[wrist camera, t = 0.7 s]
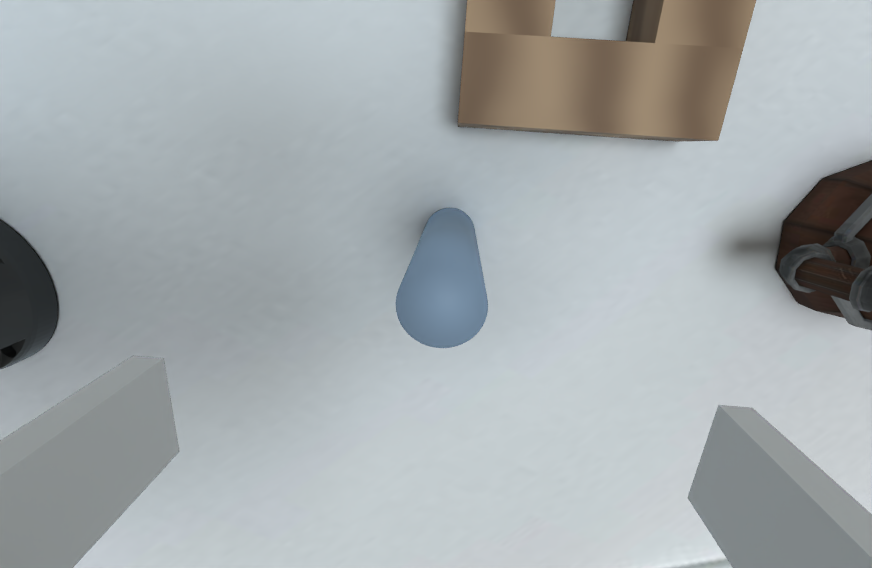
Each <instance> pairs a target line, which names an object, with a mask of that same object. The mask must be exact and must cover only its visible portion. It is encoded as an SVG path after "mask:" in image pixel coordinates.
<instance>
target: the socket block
mask: <svg viewBox="0 0 872 568" xmlns="http://www.w3.org/2000/svg"><path fill="white" fill-rule="evenodd" d="M555 1H556V0H467V10H466V23H465V36H464V49H463V62H462V75H461V88H460V101H459V114H458V127H472V128H486V129H501V130H516V131H530V132H545V133H560V134H575V135H589V136H604V137H619V138H634V139H648V140H663V141H718V139H719V136H720V132H721V128H722V125H723V121H724V117H725V114H726V110H727V106H728V103H729V99H730V95H731V91H732V88H733V84H734V80H735V77H736V73H737V69H738V66H739V62H740V58H741V55H742V51H743V47H744V43H745V40H746V36H747V32H748V29H749V25H750V21H751V18H752V14H753V10H754V7H755V3H756V0H634V1H633V7H632V12H631V17H630V23H629V28H628V33H627V39H626V41H612V40H596V39H579V38H563V37H551V30H552V23H553V15H554V8H555Z"/></svg>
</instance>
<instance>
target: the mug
mask: <svg viewBox="0 0 872 568" xmlns="http://www.w3.org/2000/svg"><path fill="white" fill-rule="evenodd" d="M776 270H777V271H778V273H779V274H780V276H781V277H782V279H783V280H784V282H785V283H786V285H787V287H788V288H789V290H790V291H791V293H792V294H793V296H794V297H795V299H796V300H797V302H798V303H800V304H802V305H804V306H806V307H808V308H811V309H813V310H815V311H819V312H823V313H827V314H831V315H835V316H839V317H843V318H845V319H846V321H847V322H848V323H849V324H851V325H854V326H856V327H860V328H865V329H869V330H872V161H869V162H867V163H864V164H861V165H858V166H856V167H853V168H850V169H847V170H845V171H842V172H839V173H836V174H834V175H831V176H828V177H825V178H823V179H822V180H821V181H820V182H819V183H818V185H817V186H816V187H815V188H814V189H813V190H812V191H811V192H810V193H809V194H808V196H807V197H806V198H805V199H804V200H803V201H802V202H801V203H800V204H799V206H798V207H797V208H796V209H795V210H794V211H793V212H792V213H791V214H790V215H789V217H788V218H787V219H786V220H785V221H784V225H783V230H782V236H781V242H780V247H779V253H778V259H777V264H776Z"/></svg>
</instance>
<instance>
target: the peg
mask: <svg viewBox="0 0 872 568" xmlns="http://www.w3.org/2000/svg"><path fill="white" fill-rule="evenodd" d="M396 311H397V316H398V319H399V321H400V323H401V325H402V327H403V328H404V330H405V331H406V332H407V333H408V334H409V335H410V336H411V337H412V338H414V339H415V340H417V341H418V342H420V343H422V344H425V345H427V346H431V347H436V348H449V347H454V346H458V345H461V344H463V343H465V342H467V341H468V340H470V339H471V338H472V337H474V336H475V335H476V334H477V333H478V332H479V330H480V329H481V327H482V326H483V324H484V322H485V319H486V316H487V311H488V300H487V294H486V289H485V283H484V278H483V272H482V267H481V261H480V256H479V251H478V245H477V240H476V234H475V229H474V225H473V222H472V220H471V219H470V217H469V216H468V215H467V214H466V213H464V212H463V211H461V210H459V209H455V208H444V209H441V210H439V211H437V212H435V213H434V214H433V215H432V216H431V217H430V218H429V220H428V222H427V224H426V226H425V229H424V231H423V233H422V236H421V238H420V240H419V243H418V245H417V248H416V250H415V252H414V255H413V257H412V259H411V262H410V264H409V266H408V269H407V271H406V273H405V276H404V278H403V280H402V283H401V285H400V288H399V290H398V293H397V297H396Z"/></svg>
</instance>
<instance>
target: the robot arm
mask: <svg viewBox="0 0 872 568" xmlns="http://www.w3.org/2000/svg"><path fill="white" fill-rule="evenodd" d="M57 311H58V310H57V299H56V294H55V290H54V287H53V284H52V281H51V279H50V277H49V274H48V272H47V270H46V269H45V267H44V265H43V263H42V262H41V260H40V259H39V257H38V256H37V255H36V253H35V252H34V251H33V249H32V248H31V247H30V246H29V245H28V244H27V243H26V241H25V240H24V239H23V238H22V237H21V236H19V235H18V234H17V233H16V232H15V231H14V230H13V229H11V228H10V227H9V226H8V225H6V224H5V223H3V222H2V221H0V369H3V368H6V367H8V366H11V365H13V364H15V363H17V362H19V361H21V360H23V359H25V358H27V357H29V356H31V355H33V354H35V353H37V352H38V351H39V350H41V349H42V348H43V347H44V346H45V345H46V344H47V342H48V341H49V340H50V338H51V336H52V334H53V332H54V329H55V326H56V322H57ZM179 452H180V451H179V445H178V440H177V434H176V428H175V422H174V416H173V410H172V404H171V398H170V392H169V387H168V381H167V375H166V369H165V363H164V358H154V357H142V356H132V357H130V358H128V359H127V360H125V361H124V362H122V363H121V364H119V365H118V366H116V367H114V368H113V369H111V370H110V371H108V372H107V373H105V374H103V375H102V376H100V377H99V378H97V379H96V380H94V381H93V382H91V383H89V384H88V385H86V386H85V387H83V388H82V389H80V390H79V391H77V392H75V393H74V394H72V395H71V396H69V397H68V398H66V399H64V400H63V401H61V402H60V403H58V404H57V405H55V406H54V407H52V408H50V409H49V410H47V411H46V412H44V413H43V414H41V415H40V416H38V417H36V418H35V419H33V420H32V421H30V422H29V423H27V424H25V425H24V426H22V427H21V428H19V429H18V430H16V431H15V432H13V433H11V434H10V435H8V436H7V437H5V438H4V439H2V440H1V441H0V568H73V567H74V566H75V565H76V564H77V563H78V562H79V561H80V560H81V558H82V557H83V556H84V555H85V554H86V553H87V552H88V551H89V550H90V549H91V548H92V546H93V545H94V544H95V543H96V542H97V541H98V540H99V539H100V538H101V537H102V536H103V534H104V533H105V532H106V531H107V530H108V529H109V528H110V527H111V526H112V525H113V524H114V522H115V521H116V520H117V519H118V518H119V517H120V516H121V515H122V514H123V513H124V512H125V510H126V509H127V508H128V507H129V506H130V505H131V504H132V503H133V502H134V501H135V500H136V498H137V497H138V496H139V495H140V494H141V493H142V492H143V491H144V490H145V489H146V488H147V486H148V485H149V484H150V483H151V482H152V481H153V480H154V479H155V478H156V477H157V476H158V474H159V473H160V472H161V471H162V470H163V469H164V468H165V467H166V466H167V465H168V464H169V462H170V461H171V460H172V459H173V458H174V457H175V456H176V455H177V454H178V453H179ZM688 499H689V501H690V502H691V504H692V505H693V507H694V509H695V510H696V512H697V513H698V515H699V516H700V518H701V519H702V521H703V522H704V524H705V526H706V527H707V529H708V530H709V532H710V533H711V535H712V536H713V538H714V539H715V541H716V542H717V544H718V546H719V547H720V549H721V550H722V552H723V553H724V555H725V556H726V558H727V559H728V561H729V562H730V564H731V566H732V567H733V568H872V514H871V513H870V512H869V511H867V510H866V509H865V508H864V507H863V506H862V505H861V504H860V503H858V502H857V501H856V500H855V499H854V498H853V497H852V496H851V495H850V494H848V493H847V492H846V491H845V490H844V489H843V488H842V487H841V486H839V485H838V484H837V483H836V482H835V481H834V480H833V479H832V478H830V477H829V476H828V475H827V474H826V473H825V472H824V471H823V470H821V469H820V468H819V467H818V466H817V465H816V464H815V463H814V462H813V461H811V460H810V459H809V458H808V457H807V456H806V455H805V454H804V453H802V452H801V451H800V450H799V449H798V448H797V447H796V446H795V445H793V444H792V443H791V442H790V441H789V440H788V439H787V438H786V437H784V436H783V435H782V434H781V433H780V432H779V431H778V430H777V429H776V428H774V427H773V426H772V425H771V424H770V423H769V422H768V421H767V420H765V419H764V418H763V417H762V416H761V415H760V414H759V413H758V412H756V411H755V410H754V409H753V408H749V407H737V406H725V405H718V408H717V411H716V414H715V417H714V420H713V423H712V426H711V429H710V432H709V435H708V438H707V441H706V444H705V447H704V450H703V453H702V456H701V459H700V462H699V465H698V468H697V471H696V474H695V477H694V480H693V483H692V486H691V489H690V492H689V495H688Z"/></svg>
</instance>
